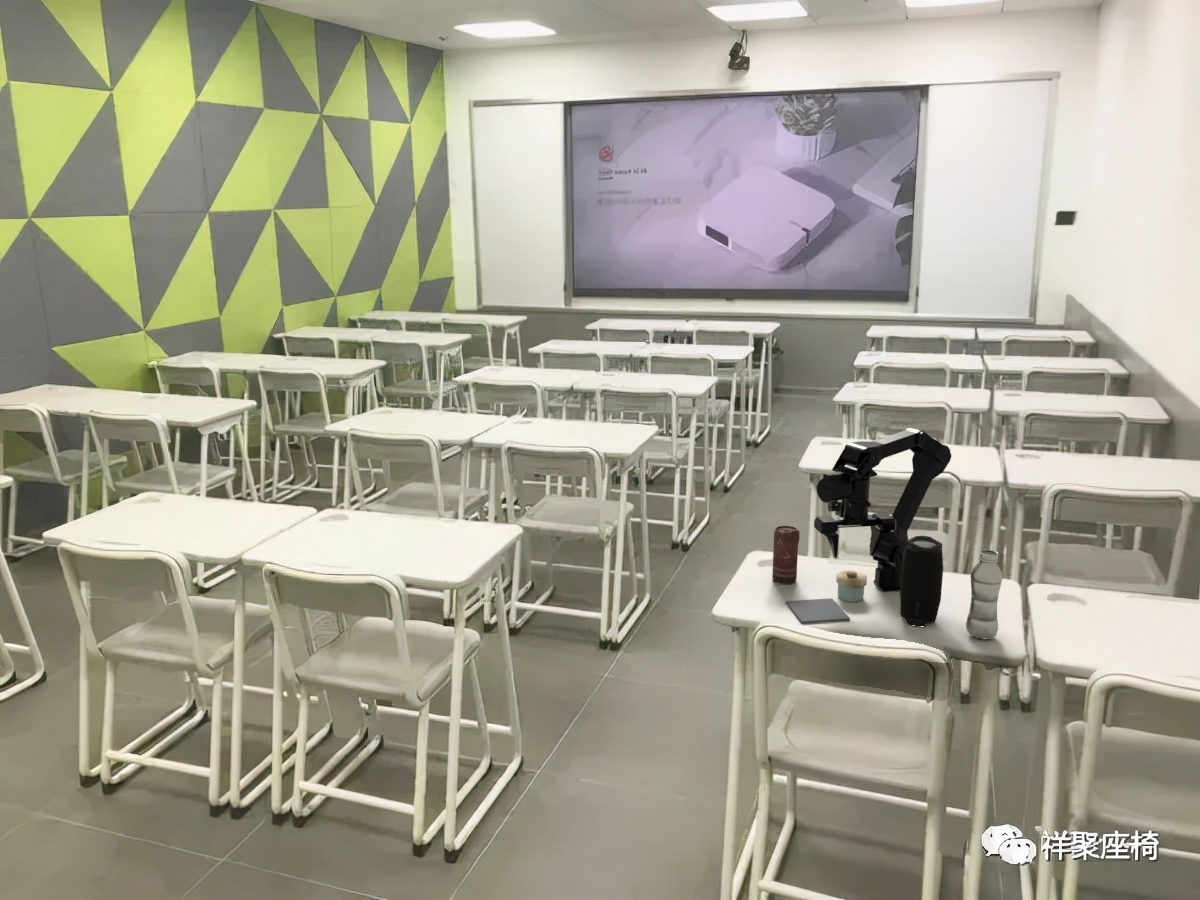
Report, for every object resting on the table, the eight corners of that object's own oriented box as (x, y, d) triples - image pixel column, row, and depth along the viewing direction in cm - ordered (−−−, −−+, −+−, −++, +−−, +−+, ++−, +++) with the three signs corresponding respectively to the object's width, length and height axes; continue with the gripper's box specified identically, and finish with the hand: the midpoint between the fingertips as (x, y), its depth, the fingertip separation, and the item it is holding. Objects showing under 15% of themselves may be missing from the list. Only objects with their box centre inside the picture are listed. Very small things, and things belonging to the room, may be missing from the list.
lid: (859, 575, 236) (860, 566, 235) (871, 587, 229) (871, 577, 228) (831, 577, 235) (832, 568, 234) (842, 588, 228) (843, 579, 227)
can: (799, 584, 241) (801, 532, 237) (774, 584, 241) (776, 532, 237) (795, 575, 247) (797, 524, 243) (770, 575, 247) (772, 524, 243)
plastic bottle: (994, 645, 207) (1003, 560, 202) (961, 638, 210) (969, 554, 205) (999, 634, 212) (1008, 550, 207) (967, 627, 215) (975, 545, 210)
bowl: (857, 591, 236) (858, 576, 235) (867, 601, 230) (868, 586, 229) (834, 593, 235) (834, 578, 234) (843, 603, 229) (844, 587, 228)
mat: (831, 600, 231) (832, 598, 231) (849, 620, 220) (850, 618, 220) (785, 603, 230) (786, 601, 229) (801, 623, 218) (801, 621, 218)
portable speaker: (909, 609, 226) (915, 531, 221) (946, 621, 219) (953, 541, 214) (890, 619, 220) (896, 540, 215) (927, 632, 213) (934, 551, 208)
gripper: (880, 483, 235) (876, 542, 239) (807, 487, 233) (805, 547, 237) (899, 497, 224) (895, 558, 228) (823, 501, 222) (820, 563, 226)
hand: (853, 556), depth 230 cm, fingers open, 9 cm apart
